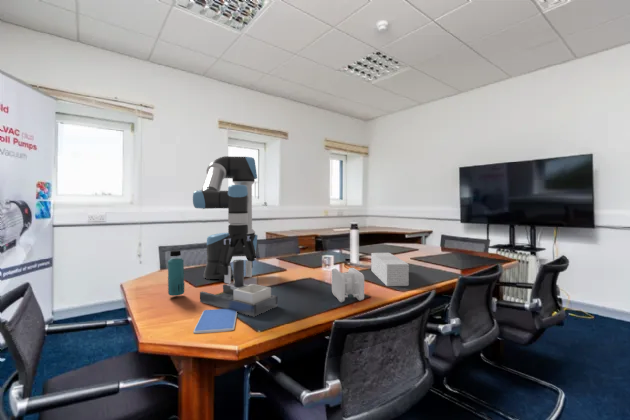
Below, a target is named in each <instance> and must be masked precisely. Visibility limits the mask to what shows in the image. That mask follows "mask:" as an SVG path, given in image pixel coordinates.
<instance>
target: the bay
mask: <svg viewBox="0 0 630 420" xmlns="http://www.w3.org/2000/svg"><path fill="white" fill-rule="evenodd" d="M230 286H231V285H230V284H229V285H228V284H223V285H222V292H218V293H216V294H214V293H210V292H206V291H200V292H199V302H200V303H202V304H203V303H204V304H206V305H210V306H214V307H217V308H219V309H232V310H235V311H237V312H238V313H237V314H241V313H242V315H244V314H245V315H244V316H248V315H249V316H248V317H251V316H253V317H252V318H255V316H256V317H257V315H258V316H260V315H261V313H262V314H264V313H266V311H267V312H269V311H271V310H273V309H275V308H277V307H278V299H279V298H278V295H275V294H271V298H268V299H266V300H264V301H261V302H259V303H256V304H250V303H246V302H242V301H238V300H234V299H233V289H230ZM272 308H273V309H272ZM270 309H271V310H270ZM268 310H269V311H268ZM259 314H260V315H259Z"/></svg>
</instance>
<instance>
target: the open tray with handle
mask: <svg viewBox="0 0 630 420" xmlns="http://www.w3.org/2000/svg"><path fill="white" fill-rule="evenodd" d="M244 262H245V261H244V259H234V260H233V261H232V263H233V266H232V270H233V276H232V277H233V279H232V280H233V282H232V283H233V285H229V286H230V289H233V299H234V300H238V301H242V302H246V303H250V304H256V303H259V302H261V301H264V300H266V299H268V298H271V295H272V287H271V286H266V285H260V284H255V283H250V284H245V280H244V279H245V275H244V274H245V272H244V271H245V269H244V268H245V266H244V265H245V263H244Z"/></svg>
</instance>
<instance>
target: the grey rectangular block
mask: <svg viewBox="0 0 630 420" xmlns="http://www.w3.org/2000/svg"><path fill="white" fill-rule="evenodd" d="M370 257H371V259H370V261H371V262H370V263H371V272H372V273H373V274H374V275H375V276H376V277H377V278H378V279H379V280H380V281H381V282H382V283H383V284H385V286H386V287H407V286H409V284H410V283H409V281H410V279H409V277H410V276H409V273H410V271H409V270H410V267H409V266H410V265H409V263H407V262H406V261H404V260H402V259H400V257H397V256H395V255H394V254H392V253H390V252H371V256H370Z"/></svg>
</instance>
